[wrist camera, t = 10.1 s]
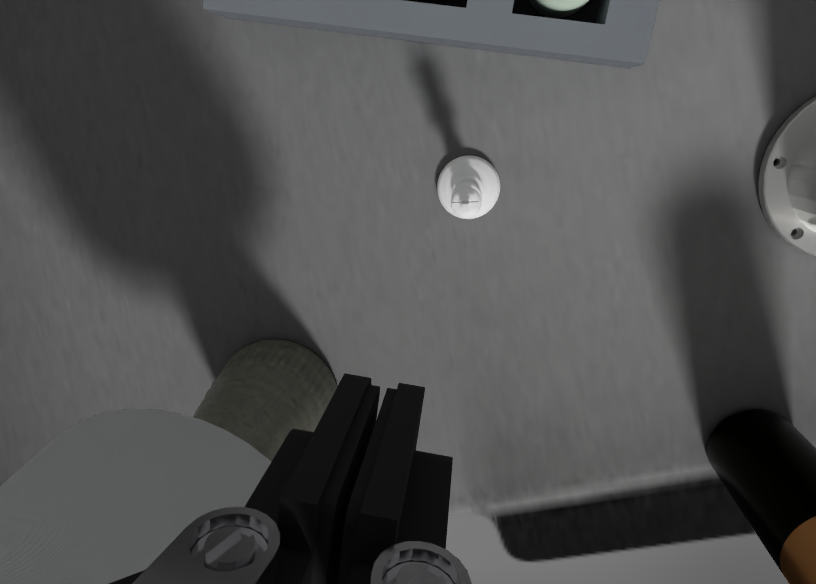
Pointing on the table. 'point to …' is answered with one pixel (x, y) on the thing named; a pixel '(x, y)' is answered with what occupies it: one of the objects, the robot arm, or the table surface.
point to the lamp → (154, 470)
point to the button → (558, 7)
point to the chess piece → (468, 187)
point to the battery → (771, 485)
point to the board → (469, 25)
